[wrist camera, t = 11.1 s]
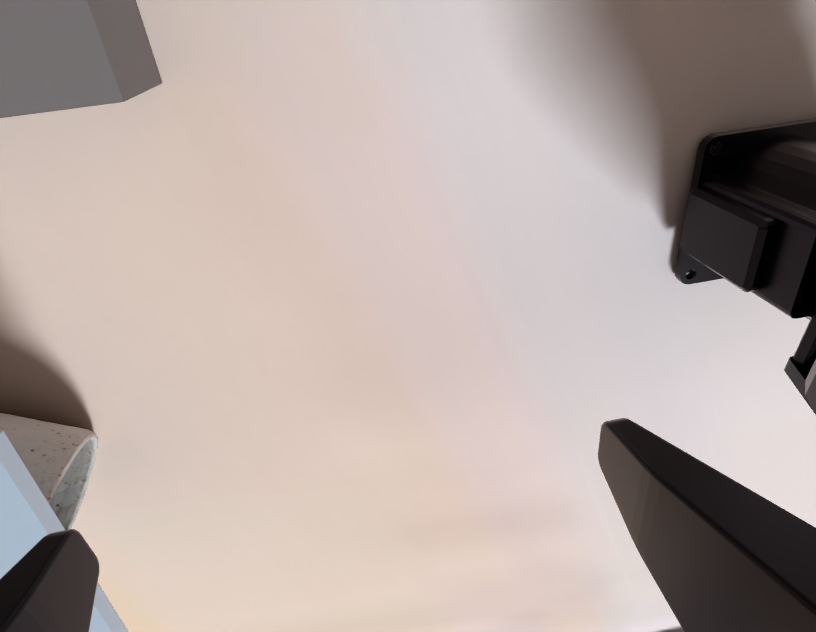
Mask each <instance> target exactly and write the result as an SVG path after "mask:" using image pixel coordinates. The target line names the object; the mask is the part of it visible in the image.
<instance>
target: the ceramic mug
mask: <svg viewBox="0 0 816 632" xmlns="http://www.w3.org/2000/svg"><path fill="white" fill-rule="evenodd" d="M2 430H3V431H4V433H5V434H6V436H7V438H8V439H9V441H10V442H11V444H12V446H13V447H14V449H15V450H16V452H17V454H18V455H19V457H20V458H21V460H22V462H23V463H24V465H25V466H26V468H27V470H28V471H29V473H30V474H31V476H32V478H33V479H34V481H35V482H36V484H37V486H38V487H39V489H40V491H41V492H42V494H43V495H44V497H45V499H46V500H47V502H48V503H49V505H50V507H51V508H52V510H53V511H54V513H55V515H56V516H57V518H58V519H59V521H60V523H61V524H62V526H63V527H64V529H65V530H69V529H71V527H72V525H73V523H74V520H75V518H76V516H77V513H78V510H79V507H80V505H81V503H82V500H83V497H84V495H85V492H86V489H87V486H88V481H89V478H90V474H91V472H92V469H93V466H94V463H95V457H96V452H97V448H98V447H97V444H98V437H97V436H96V434H95V432H93V431H90V430H87V429H83V428H78V427H72V426H67V425H61V424H55V423H50V422H45V421H40V420H35V419H30V418H25V417H20V416H15V415H10V414H4V413H0V431H2Z"/></svg>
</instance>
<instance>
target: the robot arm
mask: <svg viewBox="0 0 816 632" xmlns="http://www.w3.org/2000/svg"><path fill="white" fill-rule="evenodd" d="M715 143H716V147H715V149H714V150H713V151H712V152H711V153H710V149H711V147H712V146H713V145H714V144H715ZM689 270H691V271H690V273H688V274H687V275H686V273H687V272H688V271H689ZM675 276H676V278H677V279H678V280H679V281H681V282H682V283H684V284H693V283H699V282H704V281H710V280H716V279H722V278H725V279H726V280H728V281H729V282H731V283H732V284H734V285H735V286H737V287H738V288H740V289H741V290H743V291H745V292H753V293H754V294H756V295H757V296H759V297H760V298H762V299H763V300H765V301H767V302H768V303H770V304H771V305H773V306H774V307H776V308H777V309H779V310H781V311H782V312H784V313H785V314H787V315H788V316H790V317H791V318H802V317H806V318H808V319H809V320H810V322H809V324H808V326H807V328H806V331H805V333H804V335H803V337H802V339H801V341H800V344H799V346H798V348H797V350H796V352H795V354H794V356H792V357H790V358H789V360H788V362H787V365H786V367H785V369H784V370H785V372H786V374H787V375H788V376H789V378H790V379H791V381H792V382H793V383H794V385H795V386H796V388H797V389H798V391H799V392H800V393H801V395H802V396H803V398H804V399H805V400H806V402H807V403H808V405H809V406H810V407H811V409H812V410H813V412H814V413H815V414H816V118H814V119H808V120H801V121H794V122H788V123H781V124H774V125H768V126H761V127H755V128H748V129H741V130H735V131H728V132H721V133H715V134H711V135H708V136H706V137H705V138H704V139H703V140H702V141H701V143H700V144H699V147H698V151H697V157H696V162H695V168H694V173H693V178H692V184H691V189H690V194H689V197H688V202H687V208H686V213H685V219H684V224H683V229H682V235H681V240H680V249H679V255H678V260H677V265H676V271H675ZM598 460H599V464H600V467H601V470H602V472H603V474H604V476H605V479H606V481H607V483H608V485H609V488H610V490H611V492H612V494H613V497H614V499H615V501H616V503H617V506H618V508H619V510H620V512H621V515H622V517H623V519H624V521H625V524H626V526H627V528H628V530H629V533H630V535H631V537H632V539H633V541H634V543H635V546H636V548H637V549H638V551H639V553H640V555H641V557H642V559H643V561H644V562H645V564H646V566H647V567H648V569H649V571H650V573H651V574H652V576H653V578H654V580H655V581H656V583H657V585H658V587H659V588H660V590H661V592H662V594H663V595H664V597H665V599H666V601H667V602H668V604H669V606H670V608H671V609H672V611H673V613H674V614H675V616H676V618H677V620H678V621H679V623H680V625H681V627H682V628H683V630H684V632H816V528H815V527H813V526H812V525H810V524H808V523H806V522H805V521H803V520H801V519H800V518H798V517H796V516H794V515H793V514H791V513H789V512H788V511H786V510H784V509H782V508H781V507H779V506H777V505H775V504H774V503H772V502H770V501H769V500H767V499H765V498H763V497H762V496H760V495H758V494H757V493H755V492H753V491H751V490H750V489H748V488H746V487H744V486H743V485H741V484H739V483H738V482H736V481H734V480H732V479H731V478H729V477H727V476H726V475H724V474H722V473H720V472H719V471H717V470H715V469H714V468H712V467H710V466H708V465H707V464H705V463H703V462H701V461H700V460H698V459H696V458H695V457H693V456H691V455H689V454H688V453H686V452H684V451H683V450H681V449H679V448H677V447H676V446H674V445H672V444H670V443H669V442H667V441H665V440H664V439H662V438H660V437H658V436H657V435H655V434H653V433H652V432H650V431H648V430H646V429H645V428H643V427H641V426H640V425H638V424H636V423H634V422H633V421H631V420H629V419H626V418H621V419H616V420H611V421H606V422H604V423H603V425H602V427H601V433H600V442H599V450H598ZM98 576H99V562H98V559H97V557H96V555H95V554H94V552H93V551H92V550H91V548H90V547H89V545H88V544H87V542H86V541H85V540H84V538H83V537H82V535H81V534H80V533H79V532H78V531H76V530H74V529H69V530H64V531H59V532H54V533H50V534H48V535H46V536H45V537H43V538H42V539H41V540H40V541H39V542H38V543H37V544H36V545H35V546H34V547H33V548H32V549H31V550H30V551H29V552H28V553H27V554H26V555H24V556H23V557H22V558H21V559H20V560H19V561H18V562H17V563H16V564H15V565H14V566H13V567H12V568H11V569H10V570H9V571H8V572H7V573H6V574H5V575H4V576H3V577H2V578H1V579H0V632H89V628H90V623H91V617H92V611H93V605H94V599H95V593H96V588H97V582H98Z"/></svg>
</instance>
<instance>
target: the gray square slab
mask: <svg viewBox="0 0 816 632" xmlns="http://www.w3.org/2000/svg"><path fill="white" fill-rule="evenodd" d="M161 83H162V80H161V77H160V74H159V71H158V68H157V65H156V62H155V59H154V56H153V53H152V50H151V46H150V43H149V40H148V37H147V34H146V31H145V28H144V25H143V22H142V19H141V16H140V12H139V9H138V6H137V3H136V0H0V118H4V117H12V116H19V115H27V114H35V113H42V112H50V111H57V110H65V109H72V108H80V107H87V106H95V105H103V104H110V103H118V102H124V101H126V100H128V99H130V98H132V97H135V96H137V95H139V94H141V93H143V92H145V91H147V90H149V89H151V88H153V87H155V86H157V85H159V84H161Z"/></svg>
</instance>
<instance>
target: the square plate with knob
mask: <svg viewBox="0 0 816 632" xmlns="http://www.w3.org/2000/svg"><path fill="white" fill-rule="evenodd" d="M64 530H65V529H64V527H63V526H62V524H61V523H60V521H59V519H58V518H57V516H56V515H55V513H54V511H53V510H52V508H51V507H50V505H49V503H48V502H47V500H46V499H45V497H44V495H43V494H42V492H41V491H40V489H39V487H38V486H37V484H36V482H35V481H34V479H33V478H32V476H31V474H30V473H29V471H28V470H27V468H26V466H25V465H24V463H23V462H22V460H21V458H20V457H19V455H18V454H17V452H16V450H15V449H14V447H13V446H12V444H11V442H10V441H9V439H8V438H7V436H6V434H5V433H4V431H3V430H2V431H0V579H1V578H2V577H3V576H4V575H5V574H6V573H7V572H8V571H9V570H10V569H11V568H12V567H13V566H14V565H15V564H16V563H17V562H18V561H19V560H20V559H21V558H22V557H23V556H24V555H26V554H27V553H28V552H29V551H30V550H31V549H32V548H33V547H34V546H35V545H36V544H37V543H38V542H39V541H40V540H41V539H42V538H43V537H45V536H46V535H48V534H50V533H54V532H59V531H64ZM89 632H128V630H127V628H126V627H125V625H124V624H123V622H122V620H121V619H120V617H119V616H118V614H117V612H116V611H115V609H114V608H113V606H112V604H111V603H110V601H109V600H108V598H107V596H106V595H105V593H104V591H103V590H102V588H101V587H100V585H99V583H98V582H97V588H96V593H95V599H94V605H93V611H92V617H91V623H90V628H89Z"/></svg>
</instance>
